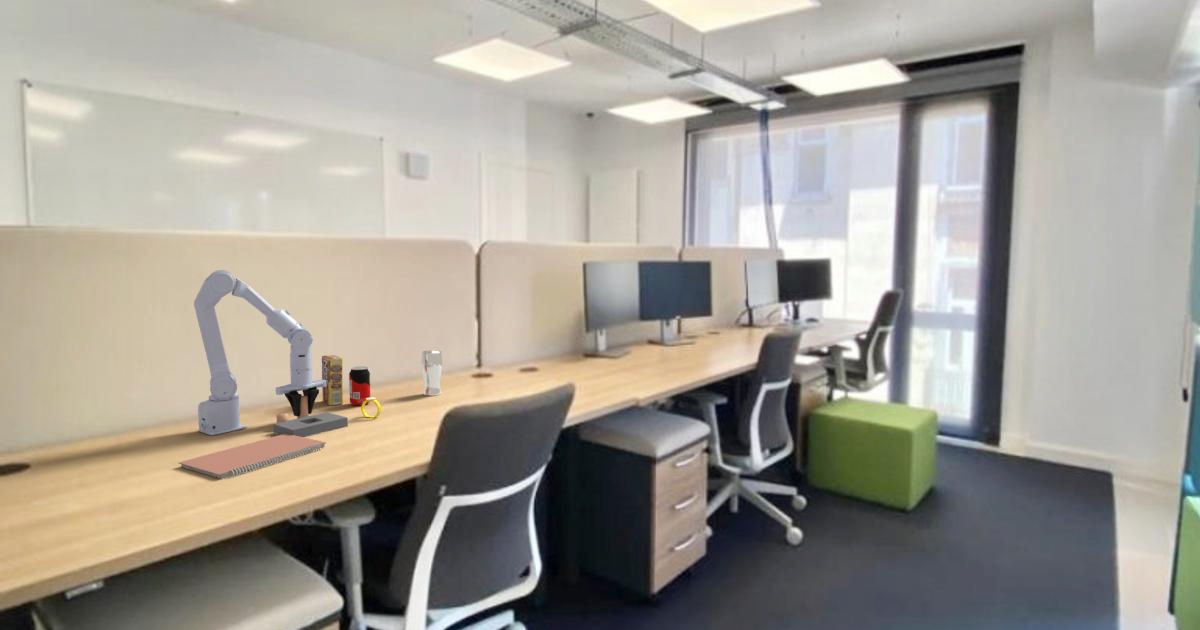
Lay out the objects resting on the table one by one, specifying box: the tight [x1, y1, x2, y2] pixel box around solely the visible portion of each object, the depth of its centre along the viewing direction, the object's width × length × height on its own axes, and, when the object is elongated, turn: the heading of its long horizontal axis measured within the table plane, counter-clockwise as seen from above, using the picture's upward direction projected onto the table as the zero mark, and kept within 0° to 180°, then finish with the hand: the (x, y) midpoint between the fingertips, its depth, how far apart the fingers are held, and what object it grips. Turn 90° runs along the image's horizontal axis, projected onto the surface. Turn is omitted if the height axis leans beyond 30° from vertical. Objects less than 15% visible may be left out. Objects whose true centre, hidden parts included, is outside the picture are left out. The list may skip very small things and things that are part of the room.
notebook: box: [178, 434, 327, 480], centre depth 154 cm, size 27×17×2 cm, turn 152°
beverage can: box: [348, 366, 371, 406], centre depth 207 cm, size 6×6×12 cm
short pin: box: [276, 412, 290, 423], centre depth 178 cm, size 3×3×4 cm
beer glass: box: [421, 349, 443, 397], centre depth 222 cm, size 7×7×15 cm
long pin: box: [296, 395, 309, 419], centre depth 187 cm, size 3×3×7 cm
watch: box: [360, 396, 382, 419], centre depth 191 cm, size 6×3×6 cm, turn 76°
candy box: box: [321, 354, 344, 406], centre depth 209 cm, size 9×4×15 cm, turn 39°
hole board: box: [272, 411, 349, 438], centre depth 178 cm, size 16×10×2 cm, turn 145°
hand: (302, 414), depth 187 cm, fingers closed on long pin, 3 cm apart
